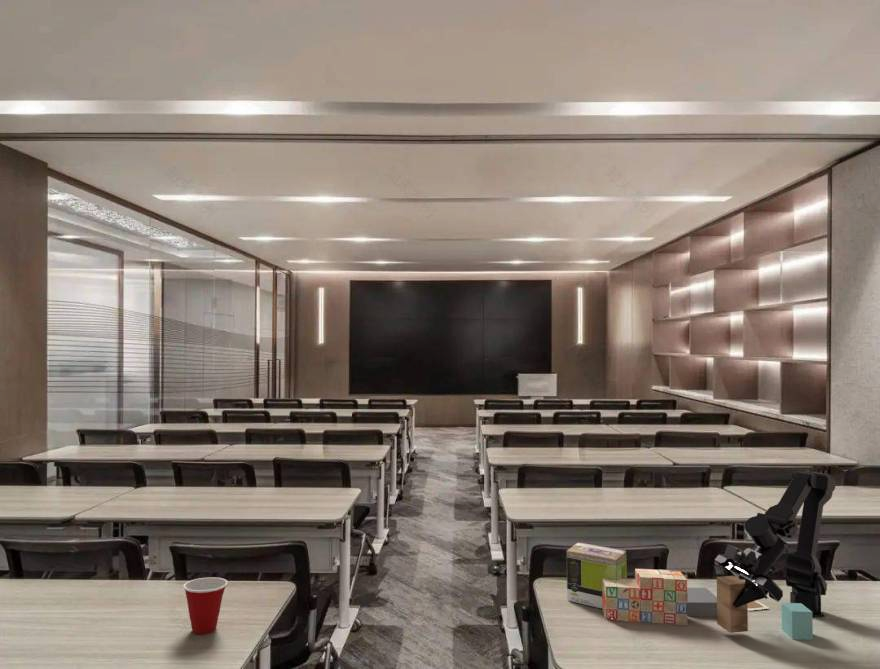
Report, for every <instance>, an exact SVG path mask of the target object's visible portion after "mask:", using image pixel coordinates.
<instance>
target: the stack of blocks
mask: <svg viewBox="0 0 880 669" xmlns="http://www.w3.org/2000/svg"><path fill="white" fill-rule="evenodd" d="M687 588H688V579H687V578H686V576H685V575H684V574H683V573H682V571H680V570H679V571H678V570H669V569H650V568H635V569H634V579H631V578H630V579H629V578H627V579H619V580H617V581H616V580H610V579H606V578H602V609H603V610H602V609H601V610H602V613H603V612H604V613H603V615H604V619H605V618H606V619H611V618H613V619H618V620H625V621H624V622H633V621H636V623H637V622H638V623H651V624H653V623H656V624H668V625H679V626H681V625H682V626H688V616H687V602H688V592H687ZM606 619H605V620H606ZM618 620H617V621H618Z"/></svg>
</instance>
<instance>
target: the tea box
mask: <svg viewBox="0 0 880 669" xmlns="http://www.w3.org/2000/svg"><path fill="white" fill-rule="evenodd" d="M627 564H628V563H627V550H625V549H618V548H612V547H609V546H607V547H606V546H601V545H596V544H592V543H591V544H589V543H584V542H577V543H575V544H574V545H572V547H570V548H569V549H567V550H566V596H567V597H566V598H567V600H566V601H569V602H572V603H577V604H582V605H585V606H589V607H593V608H598V609H601V608H602V578H606V579H610V580H616V581H617V580H619V579H628V569H627V568H628V566H627Z"/></svg>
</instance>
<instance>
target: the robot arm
mask: <svg viewBox="0 0 880 669" xmlns="http://www.w3.org/2000/svg"><path fill="white" fill-rule="evenodd" d="M835 489H836V480H835V479H834V478H832V476H831V474H829V473H825V472H824V473H822V472H816V471H810V470H805V471H803V472H802V471H798V470H797V471H793V473H792V476H791V481H790V482H789V484H788V485H787V488H786V489H785V491H784V493H783V494H782V496H781V498H780V500H779V501H778V503H777V504H775V505H772V506H770V507H769V508H768V509H767V510H766V511H765V512H764V513H762V512H757V514H756V516H751V517H750V518H748V519H747V520H745V522H744V526H743V527H744V530H745V532H746V533H747V534H748V536H749V538H751V540H752V542H753V543H754V544H755V545H754V546H753V548H750V547H748V548H745V549H744V550H743V549H740V548H738V547H736V546H734V545H732V544H727V546H726V549H725V551H724V554H722V553H721V554H720V553H719V554H718V555H717V556H716V557H715V559H714V561H715V562H716V563H717V564H718V565H719V566H720V568H721V569H722V572H723V576H735V577H737V578H739V579H740V577H742V578H743V579H744V582H745V587H744V588H743V590H742V591H741V593H740V594H739V595H738V597H737V598H736V600H735V601H734V603H733V605H734V606H735V607H736V608H737V607H740V606H742V605H745V604H747V603H750V602H753V601H759V600H763V599H765V600H767V599H768V597H770V599H773V600H774V601H775V602H777V603H779V602H780V600H781V599H782V598H783V597H784V591H783V589H782V588H781V587H780V586H779V585H778V583H776V582H775V581H774V580H773V579H772V578H770V577H768V576H766V575H767V574H768V573H769V571H770V572H773V573H774V572H775V570H776V567H774V565H775V564H776V563H777V561H778V560H779V559H780V558H781V556H782V555H783V554H786V555H787V558H786V564H785V566H784V570H783V574H784V579H785V583H786V585H785V586H787V587H791V591H790V592H789V595H790V596H789V597H790V599H789V600H790V601H789V603H801V604H803V605H804V606H805V607H807V608H808V609H809V610H810V611H812V617H825V616H826V615H825V613H823V612H822V596H827V590H828V583H827V582H826V580H825V578H824V577H823V575H822V567H821V565H820V561H818V558H817V551H818V545H819V539H820V538H819V537H820V531H821V524H822V518H823V512H824V505H826V504H827V503H828V502H829V501H830V500H831V499H832V497H833V494H834V492H835ZM801 508H802V512H801V516H800V522H799V523H800V525H798V521H797V518H796V517H797V515H798V513H799V512H800V510H801ZM798 526H799V532H798ZM797 532H798V536H797V544H796V550H795V551H794V552H793V553H792V554H791V553H790V554H789V548H788V547H789V545H788V544H789V543H788V542H786V541H784V540H783V539H782V538H786V539H791V538H793V537H794V536H795V535H796V534H797ZM781 537H782V538H781ZM767 595H768V596H767Z"/></svg>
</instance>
